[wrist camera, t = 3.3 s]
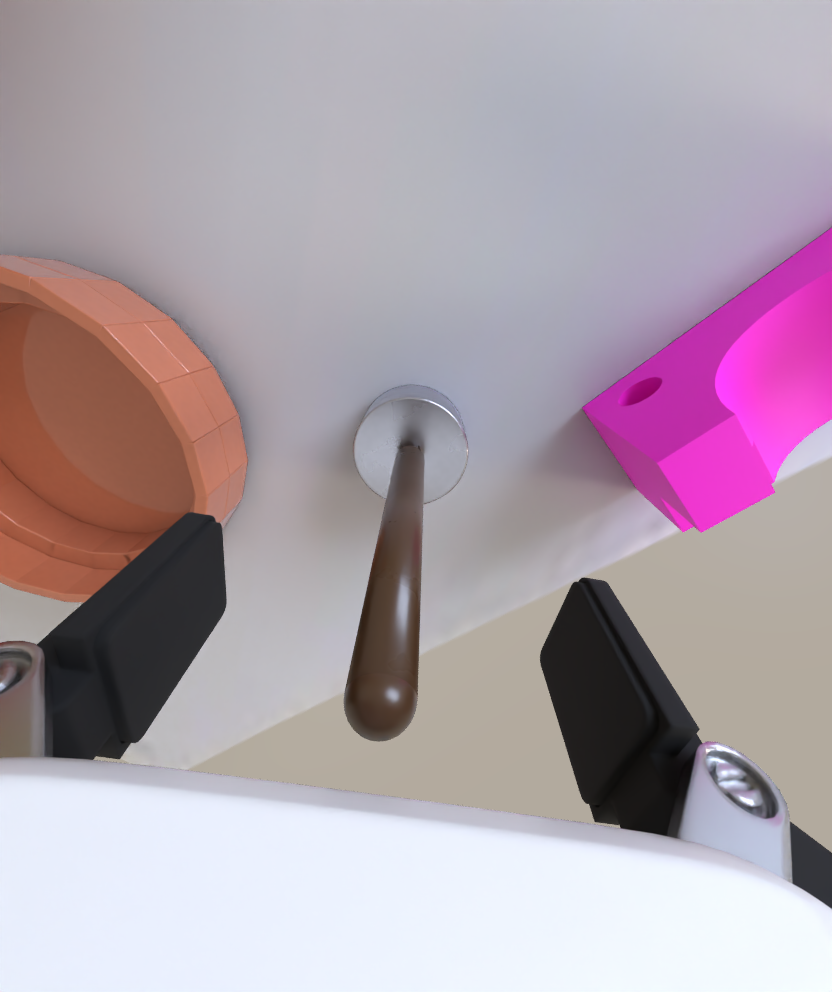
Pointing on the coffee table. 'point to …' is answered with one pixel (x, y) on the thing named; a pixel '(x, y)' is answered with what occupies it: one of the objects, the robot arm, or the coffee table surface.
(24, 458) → the bowl
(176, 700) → the coffee table surface
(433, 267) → the coffee table surface
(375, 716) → the meat pounder
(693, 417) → the toy block
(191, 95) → the coffee table surface
